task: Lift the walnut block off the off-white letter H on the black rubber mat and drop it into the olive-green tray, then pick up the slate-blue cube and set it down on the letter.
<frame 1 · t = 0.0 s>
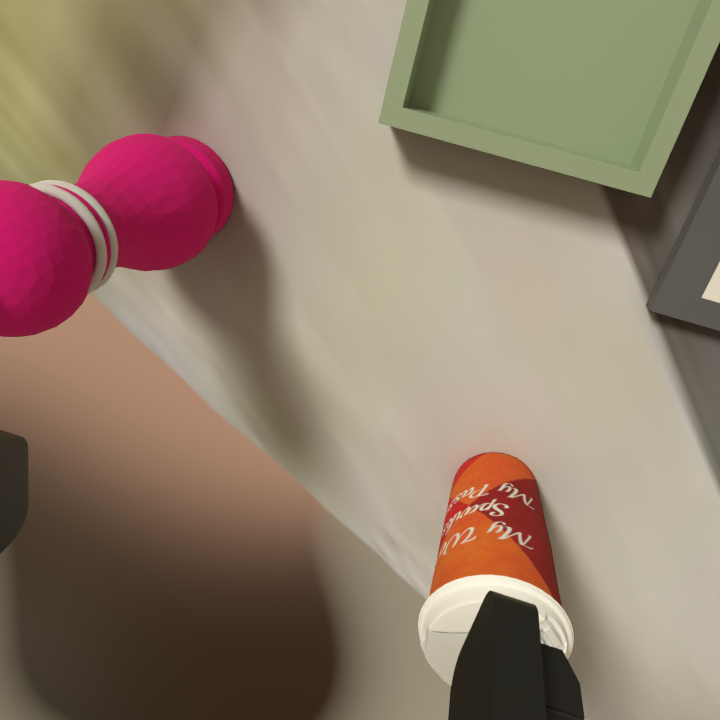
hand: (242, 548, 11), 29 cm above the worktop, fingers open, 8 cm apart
pepper mill: (187, 189, 39), on the worktop
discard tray: (558, 8, 32), on the worktop
paper cup: (493, 485, 44), on the worktop
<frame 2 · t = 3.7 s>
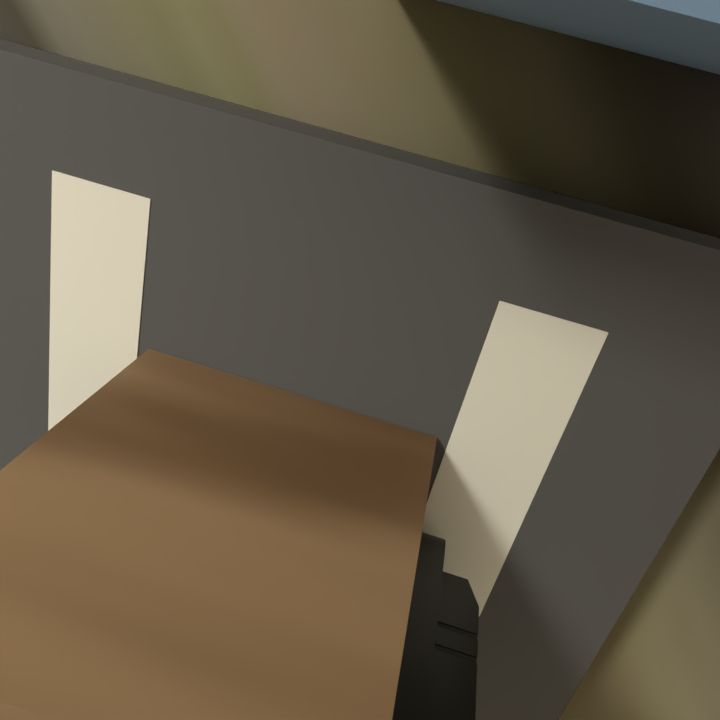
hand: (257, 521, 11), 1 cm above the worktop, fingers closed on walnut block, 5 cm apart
letter mat: (282, 476, 13), on the worktop
walnut block: (265, 508, 12), point 1 cm above the worktop, touching gripper, letter mat
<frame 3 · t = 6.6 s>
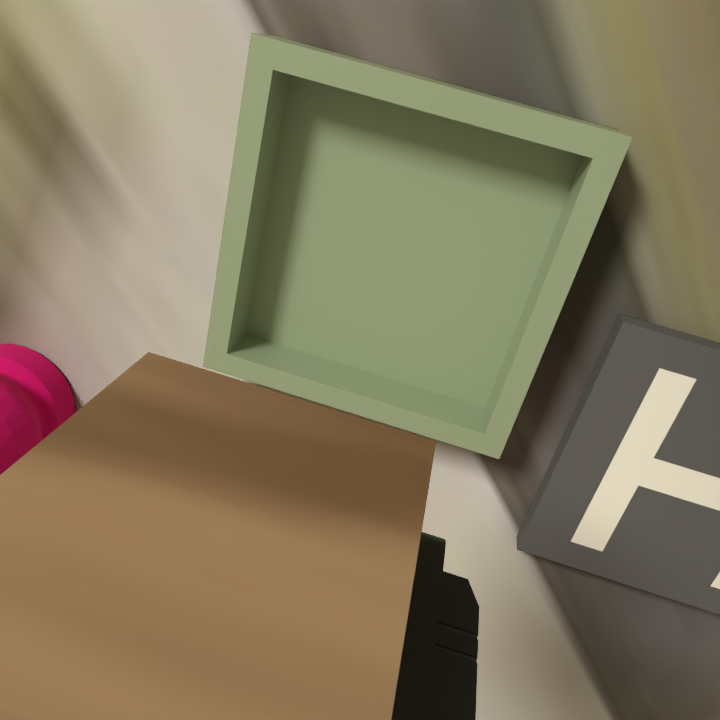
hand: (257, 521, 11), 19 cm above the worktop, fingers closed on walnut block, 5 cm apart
pepper mill: (27, 392, 36), on the worktop
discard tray: (398, 248, 28), on the worktop
letter mat: (697, 477, 30), on the worktop
walnut block: (265, 511, 12), point 19 cm above the worktop, touching gripper
when the fingers open (3 cm above the worktop, at t = 9.6 s): walnut block drops 2 cm, resting on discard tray.
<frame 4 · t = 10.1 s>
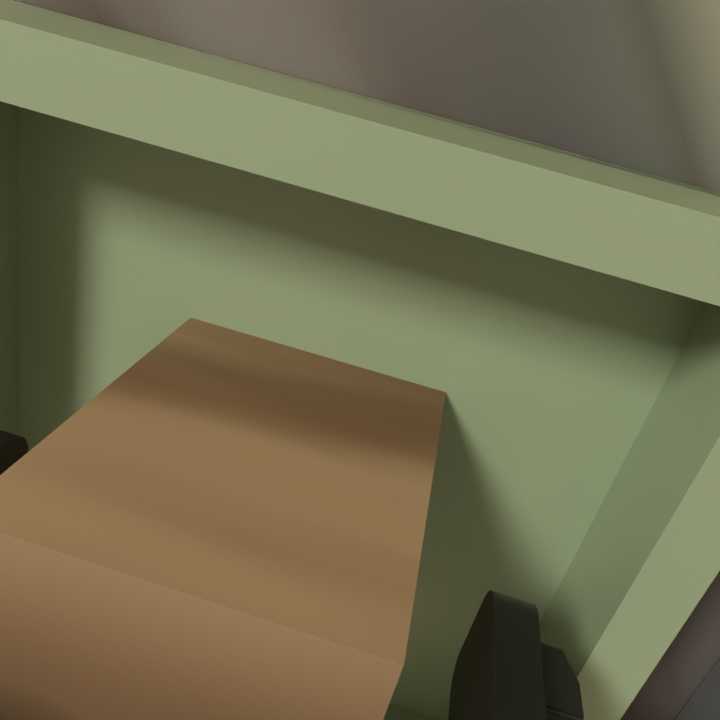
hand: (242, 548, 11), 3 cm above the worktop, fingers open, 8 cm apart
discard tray: (297, 444, 14), on the worktop
walnut block: (293, 461, 13), point 1 cm above the worktop, touching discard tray
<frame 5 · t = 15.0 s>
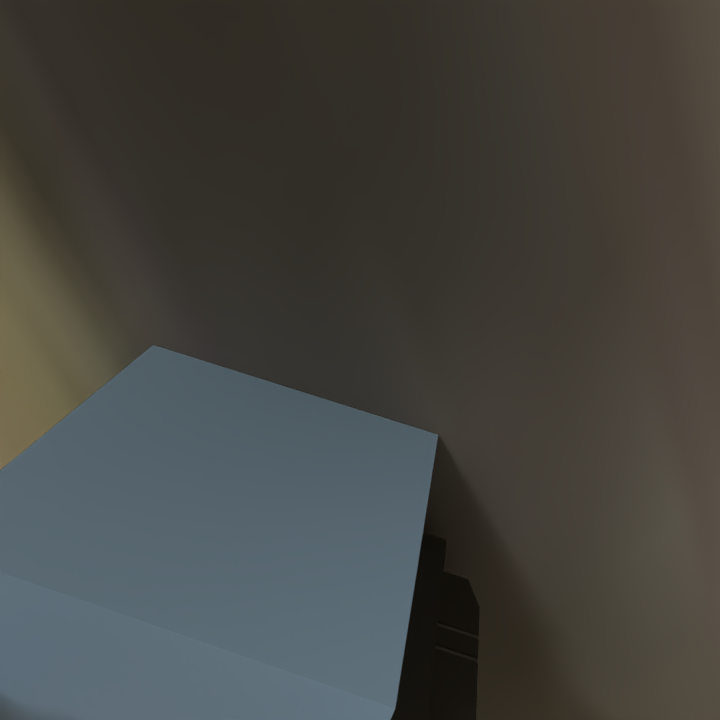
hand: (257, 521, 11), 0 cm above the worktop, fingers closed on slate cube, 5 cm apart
slate cube: (267, 503, 12), on the worktop, touching gripper
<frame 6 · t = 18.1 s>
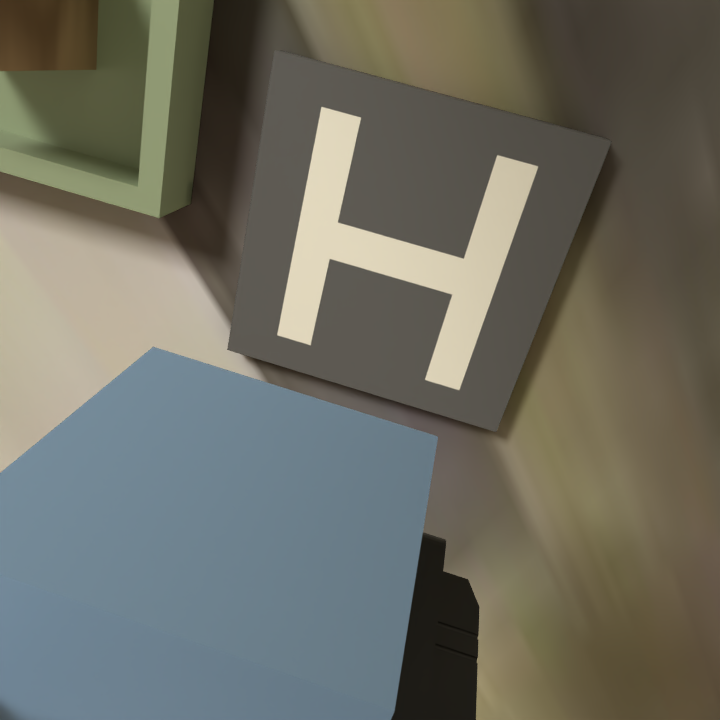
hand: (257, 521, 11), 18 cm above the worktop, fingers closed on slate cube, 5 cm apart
letter mat: (398, 252, 28), on the worktop
slate cube: (267, 505, 12), point 18 cm above the worktop, touching gripper
when the fingers open (3 cm above the worktop, at t = 21.2 s): slate cube drops 1 cm, resting on letter mat.
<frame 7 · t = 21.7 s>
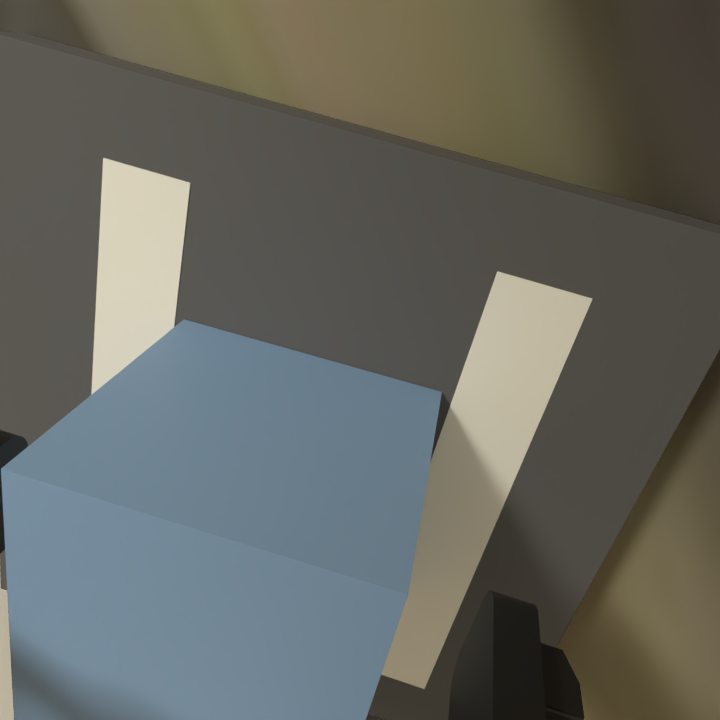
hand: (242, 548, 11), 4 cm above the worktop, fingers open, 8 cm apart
letter mat: (301, 437, 14), on the worktop
slate cube: (289, 463, 13), point 1 cm above the worktop, touching letter mat
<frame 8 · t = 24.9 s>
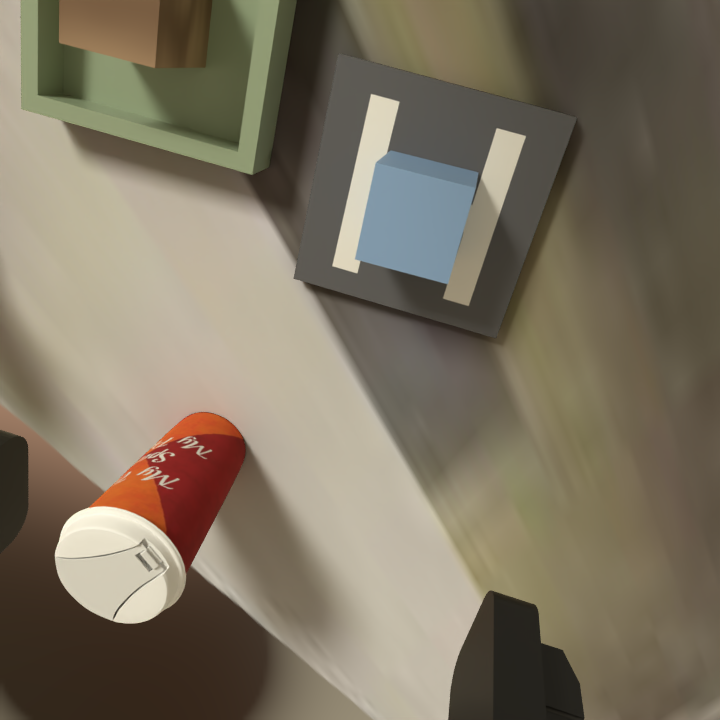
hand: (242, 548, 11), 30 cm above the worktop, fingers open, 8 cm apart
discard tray: (171, 7, 36), on the worktop
paper cup: (211, 443, 48), on the worktop
letter mat: (424, 202, 38), on the worktop
walnut block: (167, 7, 35), point 1 cm above the worktop, touching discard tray
slate cube: (423, 205, 37), point 1 cm above the worktop, touching letter mat
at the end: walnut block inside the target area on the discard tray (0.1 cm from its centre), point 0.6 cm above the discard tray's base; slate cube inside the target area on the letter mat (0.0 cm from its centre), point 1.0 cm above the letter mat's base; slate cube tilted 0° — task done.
